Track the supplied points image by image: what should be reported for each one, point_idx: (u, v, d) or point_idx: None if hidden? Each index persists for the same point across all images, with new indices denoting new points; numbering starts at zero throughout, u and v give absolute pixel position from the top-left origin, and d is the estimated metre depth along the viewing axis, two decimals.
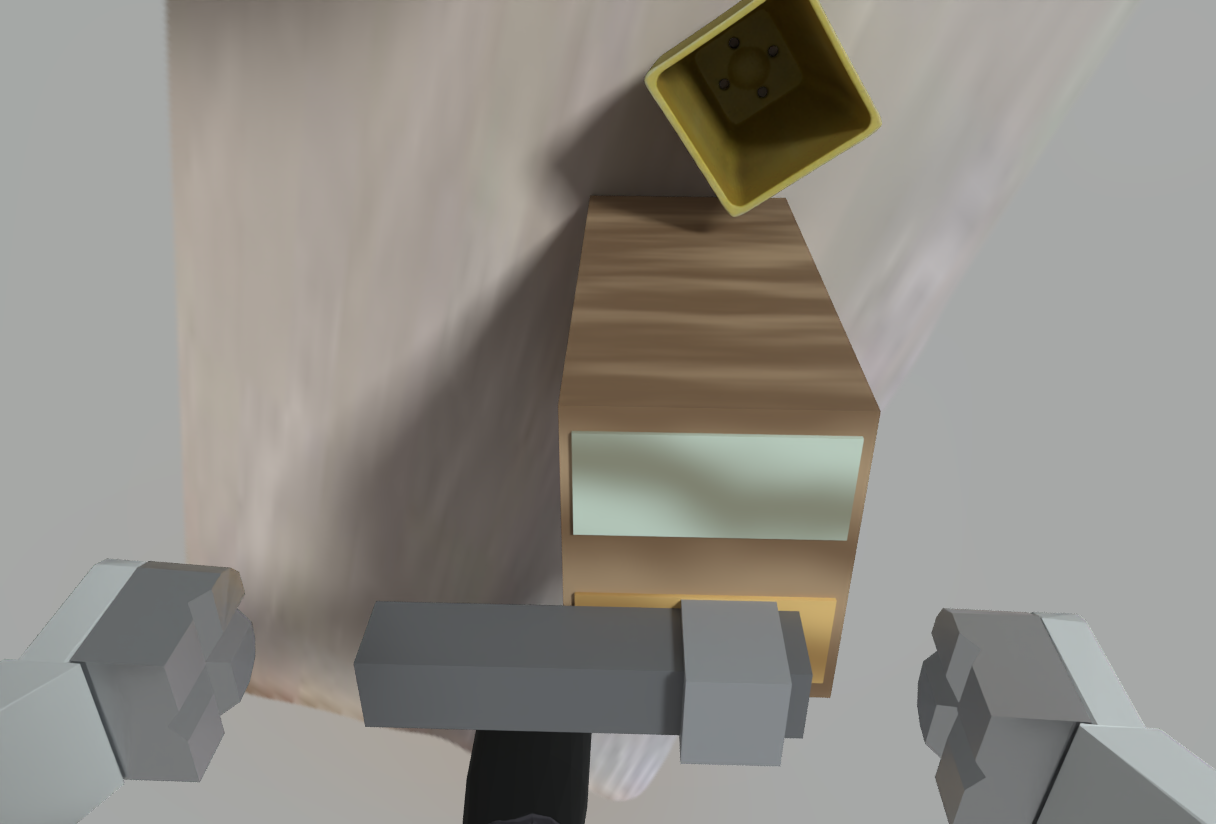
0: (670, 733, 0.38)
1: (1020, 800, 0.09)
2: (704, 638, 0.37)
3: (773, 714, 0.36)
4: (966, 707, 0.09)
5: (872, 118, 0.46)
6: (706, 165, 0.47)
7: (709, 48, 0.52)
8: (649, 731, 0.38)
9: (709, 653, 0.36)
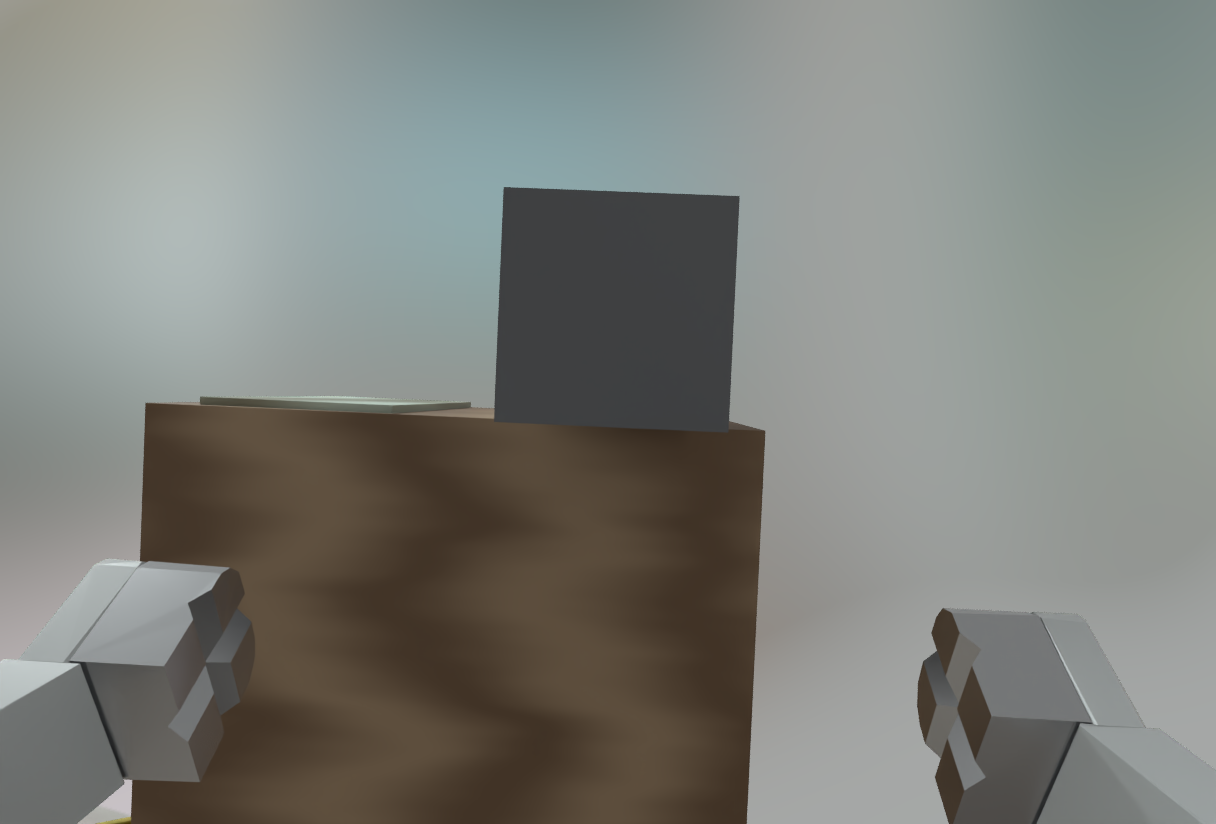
0: None
1: (1020, 800, 0.09)
2: None
3: None
4: (966, 707, 0.09)
5: None
6: None
7: None
8: None
9: None
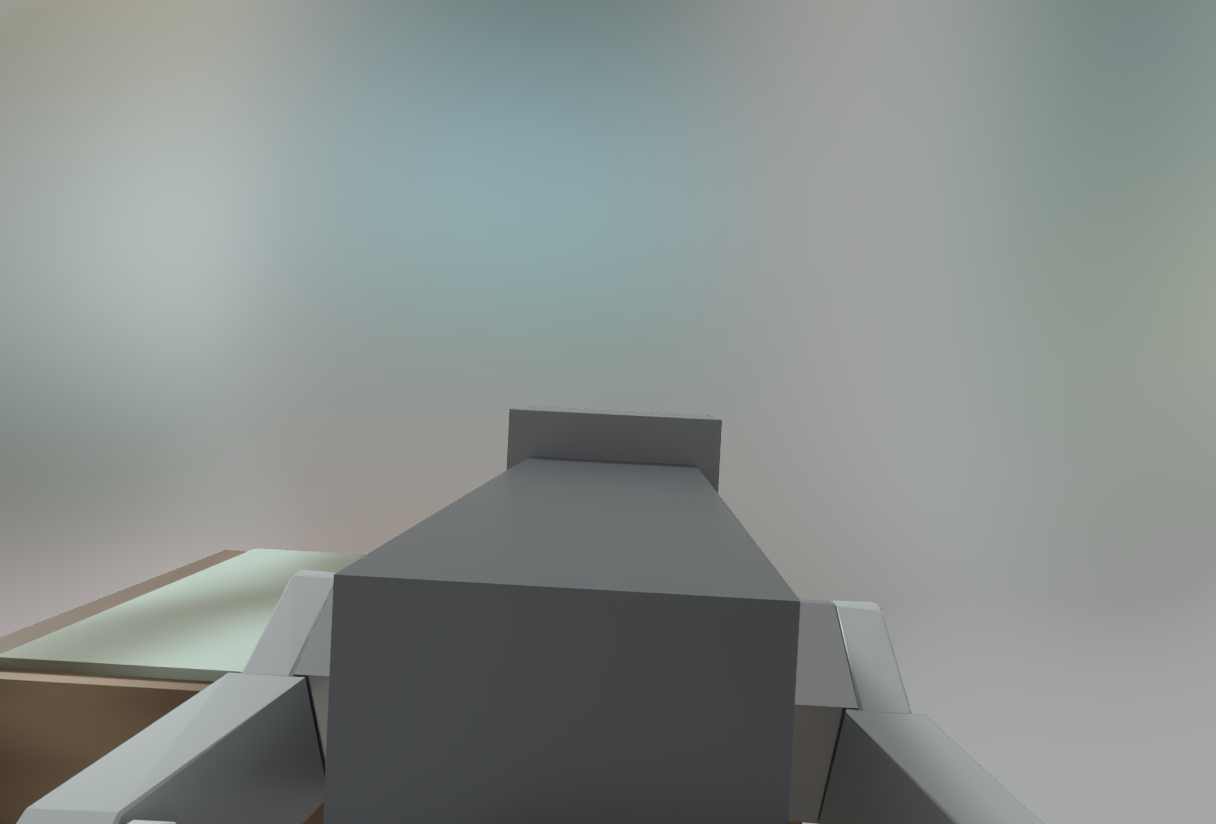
0: (693, 466, 0.20)
1: (803, 787, 0.10)
2: None
3: (592, 409, 0.24)
4: None
5: None
6: None
7: None
8: (691, 469, 0.19)
9: None
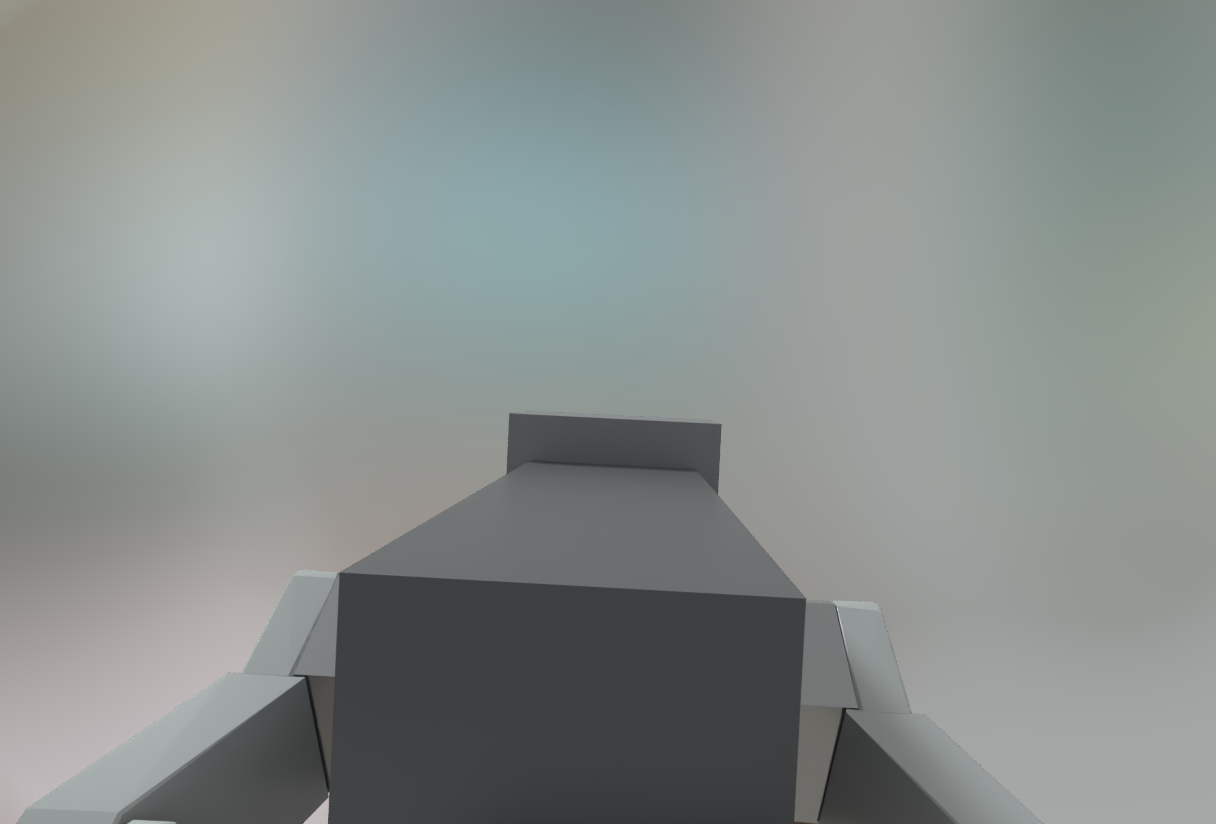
0: (692, 469, 0.20)
1: (803, 786, 0.10)
2: None
3: (592, 414, 0.24)
4: None
5: None
6: None
7: None
8: (691, 473, 0.19)
9: None
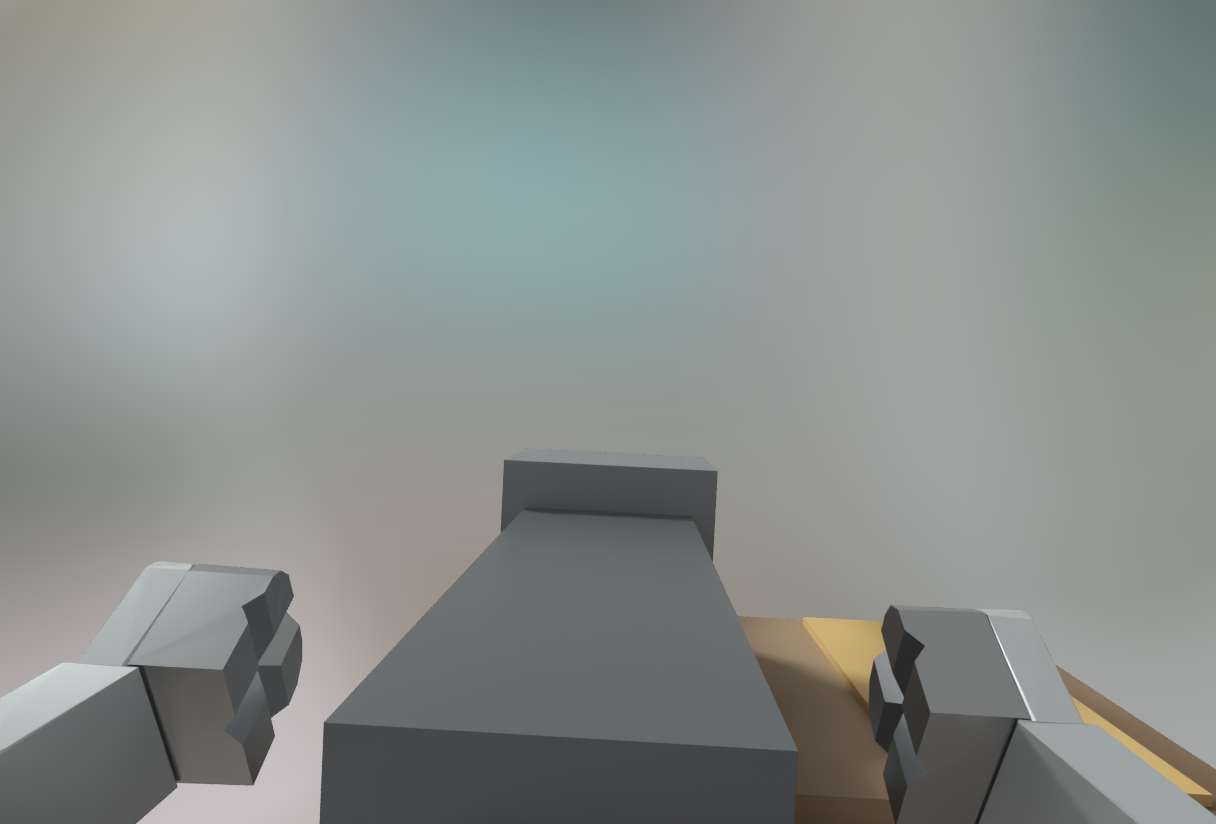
0: (688, 518, 0.20)
1: (963, 797, 0.09)
2: None
3: (587, 453, 0.23)
4: (909, 704, 0.10)
5: None
6: None
7: None
8: (687, 524, 0.19)
9: None
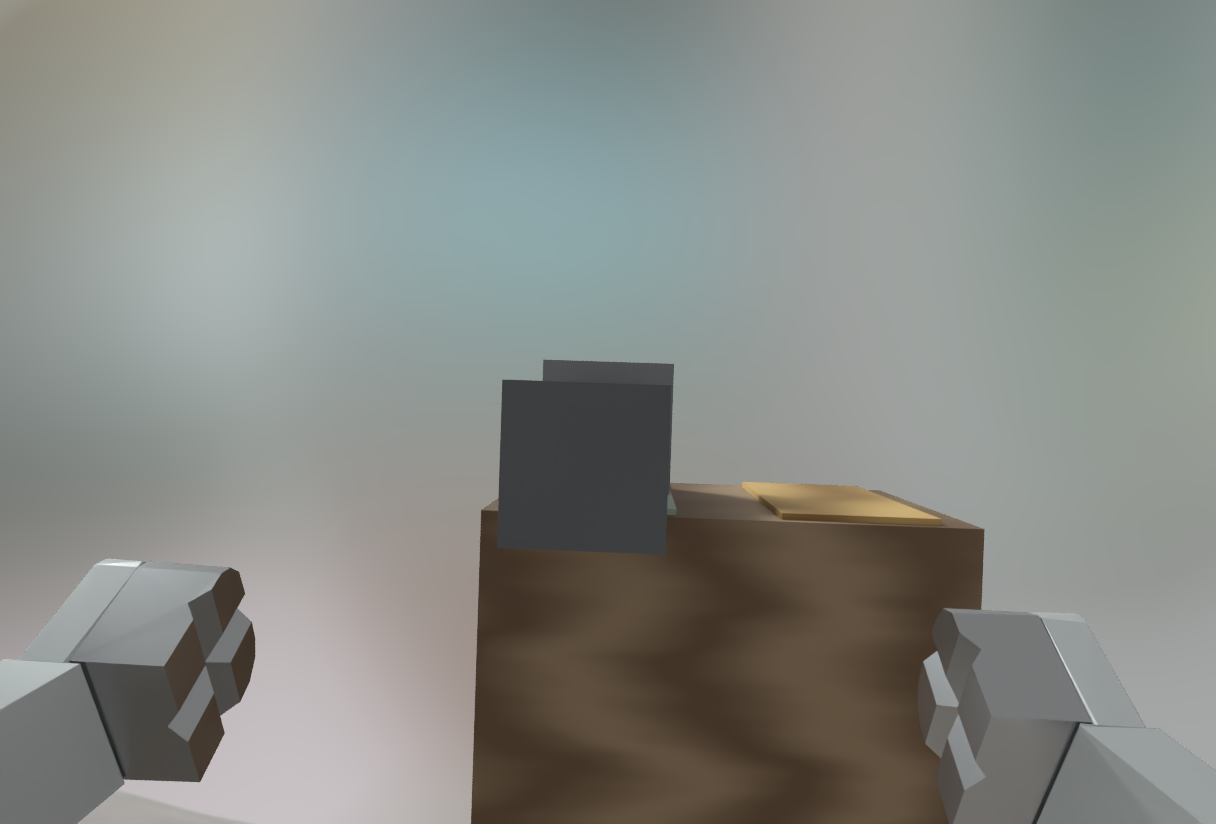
0: None
1: (1020, 800, 0.09)
2: None
3: None
4: (966, 707, 0.09)
5: None
6: None
7: None
8: None
9: None
